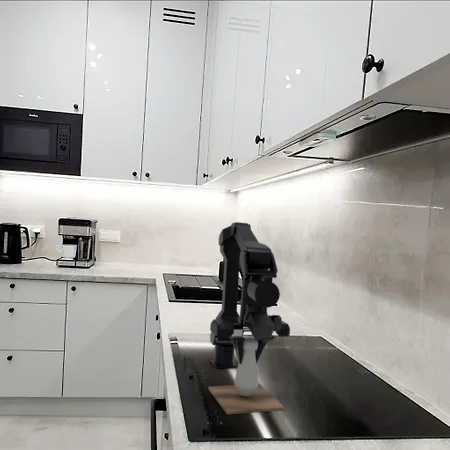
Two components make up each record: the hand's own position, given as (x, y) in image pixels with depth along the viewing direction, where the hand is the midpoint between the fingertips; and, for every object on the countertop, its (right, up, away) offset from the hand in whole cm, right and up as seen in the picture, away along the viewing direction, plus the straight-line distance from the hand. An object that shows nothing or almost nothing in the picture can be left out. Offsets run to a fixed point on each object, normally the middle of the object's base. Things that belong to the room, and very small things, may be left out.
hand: (247, 363), depth 100 cm
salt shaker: (-1, -7, 0) cm, 7 cm away
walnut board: (-1, -9, 0) cm, 9 cm away
